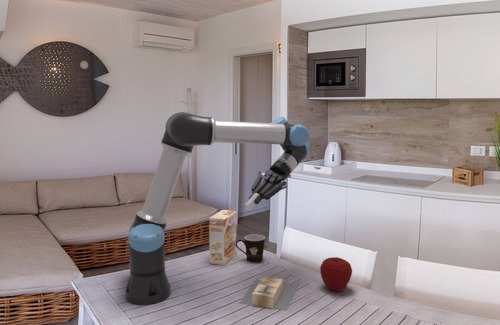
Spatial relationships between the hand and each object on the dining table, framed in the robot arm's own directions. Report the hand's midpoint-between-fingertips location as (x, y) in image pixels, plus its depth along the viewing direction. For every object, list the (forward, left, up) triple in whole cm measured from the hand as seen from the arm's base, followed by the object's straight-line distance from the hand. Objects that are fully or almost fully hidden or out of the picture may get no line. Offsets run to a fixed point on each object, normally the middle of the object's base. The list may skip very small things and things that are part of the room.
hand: (247, 207), depth 146 cm
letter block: (+10, -2, -26) cm, 28 cm away
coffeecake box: (-18, +21, -29) cm, 40 cm away
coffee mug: (-6, +23, -29) cm, 37 cm away
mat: (+10, -6, -29) cm, 31 cm away
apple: (+31, +5, -29) cm, 43 cm away
